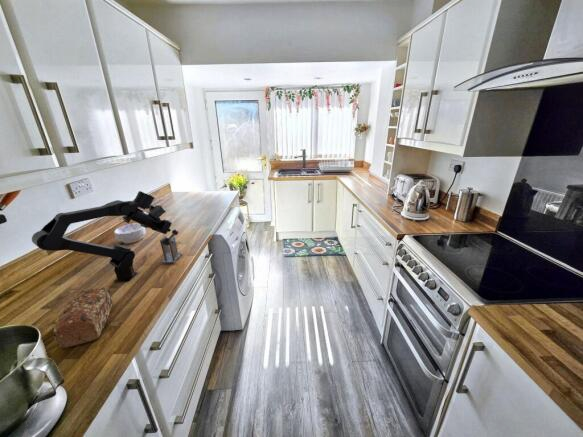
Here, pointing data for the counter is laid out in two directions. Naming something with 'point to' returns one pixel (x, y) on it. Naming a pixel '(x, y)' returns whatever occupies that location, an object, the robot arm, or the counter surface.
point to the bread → (83, 317)
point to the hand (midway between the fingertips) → (169, 230)
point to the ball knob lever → (171, 236)
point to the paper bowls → (130, 233)
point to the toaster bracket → (169, 257)
